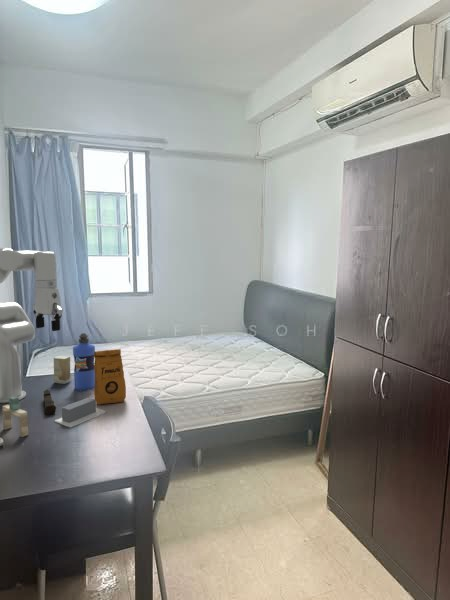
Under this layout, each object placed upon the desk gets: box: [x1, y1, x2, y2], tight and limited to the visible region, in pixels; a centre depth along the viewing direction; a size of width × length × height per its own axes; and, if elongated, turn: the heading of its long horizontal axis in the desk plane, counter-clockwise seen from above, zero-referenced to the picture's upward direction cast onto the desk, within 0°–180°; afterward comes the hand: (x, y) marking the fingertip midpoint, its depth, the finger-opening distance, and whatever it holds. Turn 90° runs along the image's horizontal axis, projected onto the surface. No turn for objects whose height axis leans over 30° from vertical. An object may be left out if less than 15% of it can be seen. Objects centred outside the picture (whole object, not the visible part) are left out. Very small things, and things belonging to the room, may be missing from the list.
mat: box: [54, 407, 107, 428], centre depth 152 cm, size 9×16×1 cm, turn 148°
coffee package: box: [93, 348, 127, 406], centre depth 167 cm, size 10×12×22 cm
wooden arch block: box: [1, 396, 29, 438], centre depth 139 cm, size 12×2×12 cm, turn 58°
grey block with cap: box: [61, 396, 98, 423], centre depth 152 cm, size 4×13×5 cm, turn 148°
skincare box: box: [53, 355, 71, 385], centre depth 191 cm, size 6×4×12 cm
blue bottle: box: [72, 333, 96, 392], centre depth 183 cm, size 9×9×25 cm
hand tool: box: [43, 389, 57, 416], centre depth 162 cm, size 19×4×5 cm, turn 25°
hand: (48, 329), depth 155 cm, fingers open, 9 cm apart
